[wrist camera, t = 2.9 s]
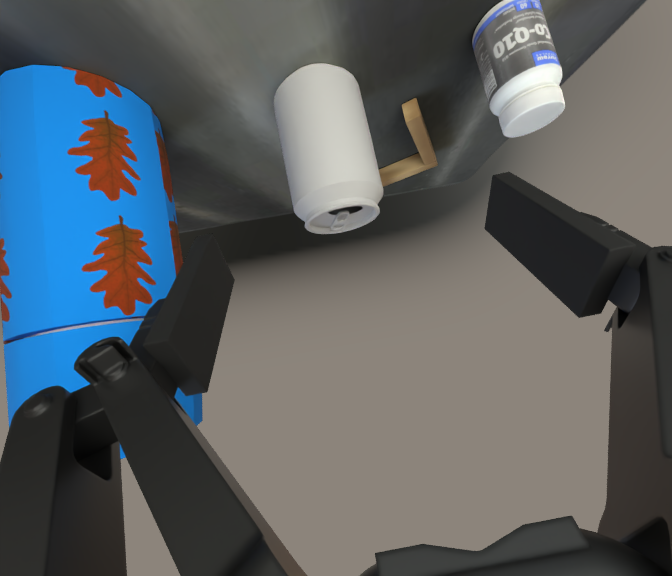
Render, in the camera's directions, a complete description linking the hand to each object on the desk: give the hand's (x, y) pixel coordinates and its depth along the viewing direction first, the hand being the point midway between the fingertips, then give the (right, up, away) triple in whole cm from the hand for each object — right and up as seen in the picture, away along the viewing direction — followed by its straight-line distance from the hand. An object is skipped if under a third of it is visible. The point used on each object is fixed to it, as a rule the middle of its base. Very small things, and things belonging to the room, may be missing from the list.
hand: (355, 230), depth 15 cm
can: (-3, +14, +12) cm, 19 cm away
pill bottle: (+12, +18, +9) cm, 23 cm away
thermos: (-21, +11, +10) cm, 26 cm away
